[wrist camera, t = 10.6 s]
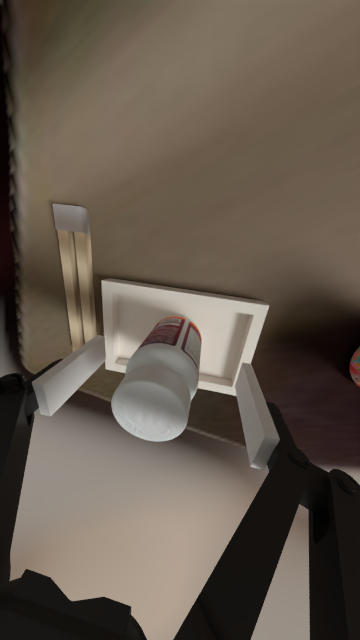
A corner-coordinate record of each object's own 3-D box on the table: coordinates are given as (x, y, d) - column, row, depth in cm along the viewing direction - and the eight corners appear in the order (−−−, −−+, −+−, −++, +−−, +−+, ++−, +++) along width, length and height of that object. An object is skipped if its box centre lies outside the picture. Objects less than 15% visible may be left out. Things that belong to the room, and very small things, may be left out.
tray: (110, 278, 21) (101, 280, 19) (263, 300, 19) (269, 305, 17) (113, 360, 25) (105, 369, 23) (237, 385, 23) (239, 396, 21)
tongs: (61, 206, 19) (52, 203, 18) (88, 209, 18) (80, 206, 17) (78, 347, 25) (72, 352, 24) (98, 351, 25) (92, 356, 24)
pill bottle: (146, 342, 22) (90, 417, 12) (168, 304, 20) (122, 356, 10) (186, 366, 23) (165, 460, 12) (212, 331, 20) (215, 410, 10)
